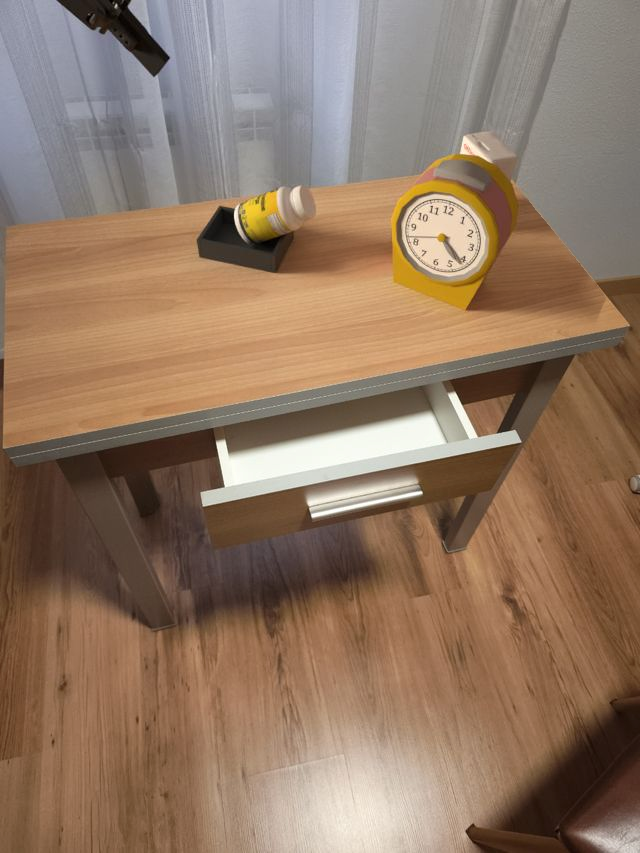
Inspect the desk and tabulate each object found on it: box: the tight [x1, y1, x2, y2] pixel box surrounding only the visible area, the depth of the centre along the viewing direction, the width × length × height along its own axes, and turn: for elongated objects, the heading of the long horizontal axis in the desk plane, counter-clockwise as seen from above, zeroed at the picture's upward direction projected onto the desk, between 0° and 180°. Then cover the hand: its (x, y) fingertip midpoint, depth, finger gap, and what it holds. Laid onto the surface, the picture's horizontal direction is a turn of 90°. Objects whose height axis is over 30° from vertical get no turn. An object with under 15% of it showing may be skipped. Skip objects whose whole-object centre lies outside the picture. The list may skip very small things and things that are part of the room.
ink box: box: [459, 130, 519, 183], centre depth 90 cm, size 9×5×12 cm, turn 21°
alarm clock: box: [390, 153, 519, 311], centre depth 77 cm, size 15×8×18 cm, turn 60°
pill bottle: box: [234, 184, 317, 245], centre depth 83 cm, size 6×6×11 cm
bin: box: [196, 205, 295, 274], centre depth 86 cm, size 12×9×3 cm
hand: (162, 67), depth 69 cm, fingers closed
